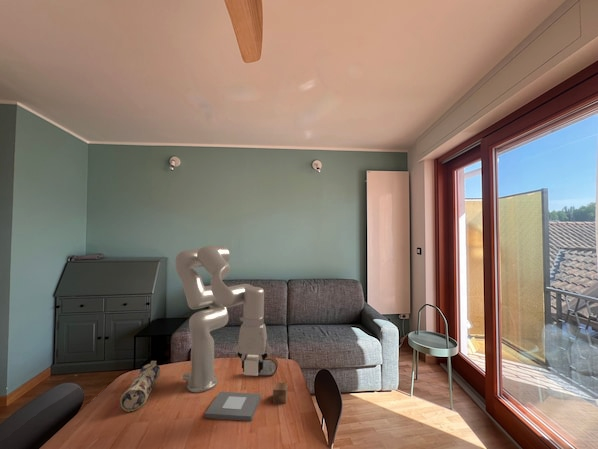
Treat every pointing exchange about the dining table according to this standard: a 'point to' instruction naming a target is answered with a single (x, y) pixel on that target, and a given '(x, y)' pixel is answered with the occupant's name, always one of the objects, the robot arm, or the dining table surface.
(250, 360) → the off-white block
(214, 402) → the grey tray
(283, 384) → the walnut block
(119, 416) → the dining table surface
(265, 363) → the tin
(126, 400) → the pencil case
